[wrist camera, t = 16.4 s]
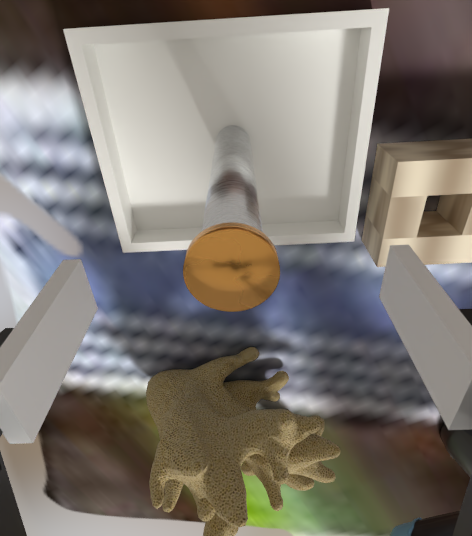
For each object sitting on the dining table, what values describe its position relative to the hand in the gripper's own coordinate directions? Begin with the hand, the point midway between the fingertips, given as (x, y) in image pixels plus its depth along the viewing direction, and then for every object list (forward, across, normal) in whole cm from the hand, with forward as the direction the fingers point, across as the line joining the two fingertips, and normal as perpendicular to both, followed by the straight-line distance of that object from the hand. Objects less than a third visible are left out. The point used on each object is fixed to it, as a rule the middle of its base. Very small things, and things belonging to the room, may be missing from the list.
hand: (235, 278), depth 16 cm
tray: (+20, 0, 0) cm, 20 cm away
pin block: (+21, -18, +6) cm, 28 cm away
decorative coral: (+21, +1, +34) cm, 40 cm away
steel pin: (+19, 0, 0) cm, 19 cm away
